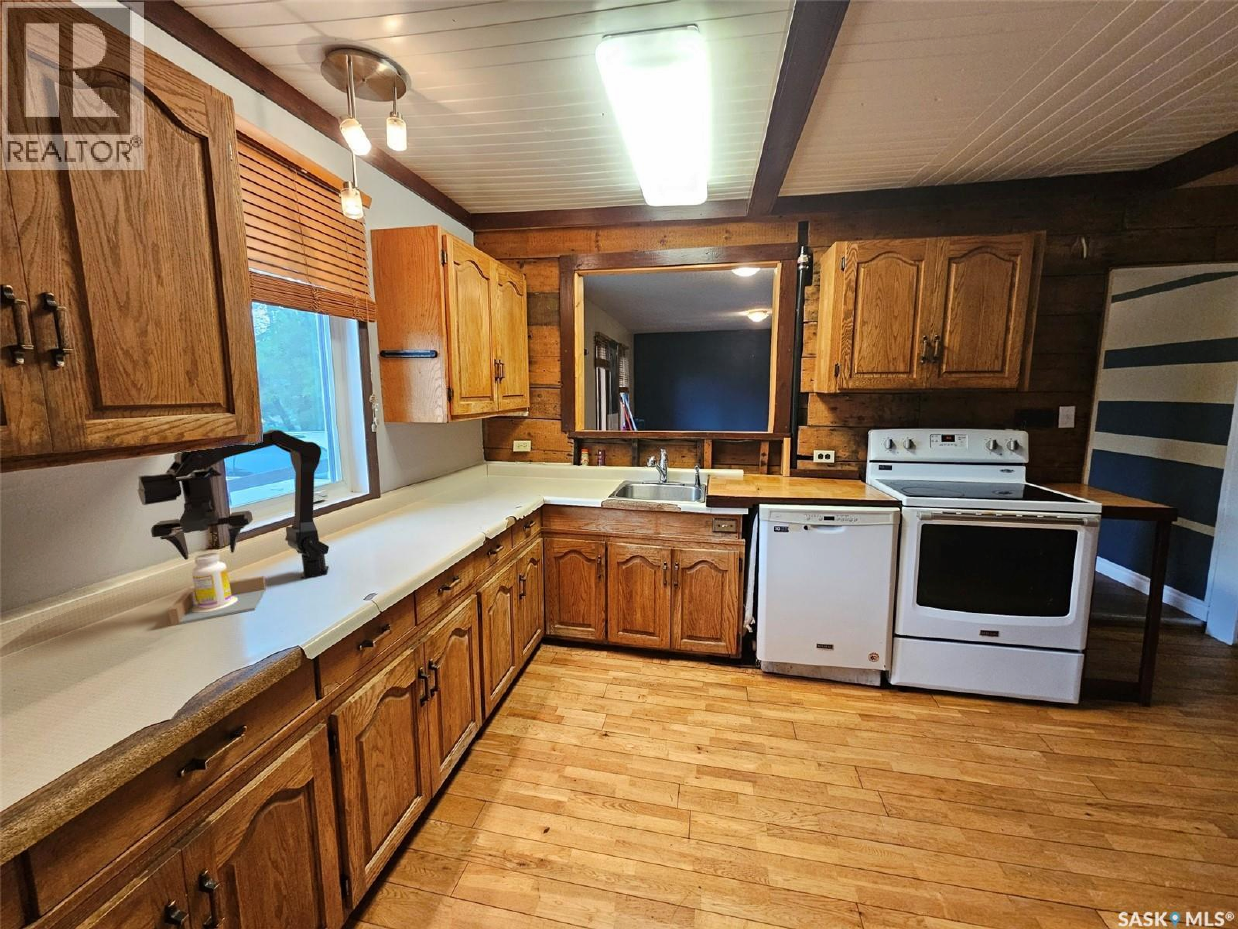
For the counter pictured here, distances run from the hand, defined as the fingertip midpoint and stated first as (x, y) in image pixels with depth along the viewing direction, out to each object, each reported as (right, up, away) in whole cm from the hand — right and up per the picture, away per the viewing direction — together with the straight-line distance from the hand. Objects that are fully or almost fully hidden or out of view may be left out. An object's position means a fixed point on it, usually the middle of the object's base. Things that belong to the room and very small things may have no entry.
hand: (210, 555), depth 122 cm
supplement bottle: (+1, -12, 0) cm, 13 cm away
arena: (+3, -13, 0) cm, 13 cm away
